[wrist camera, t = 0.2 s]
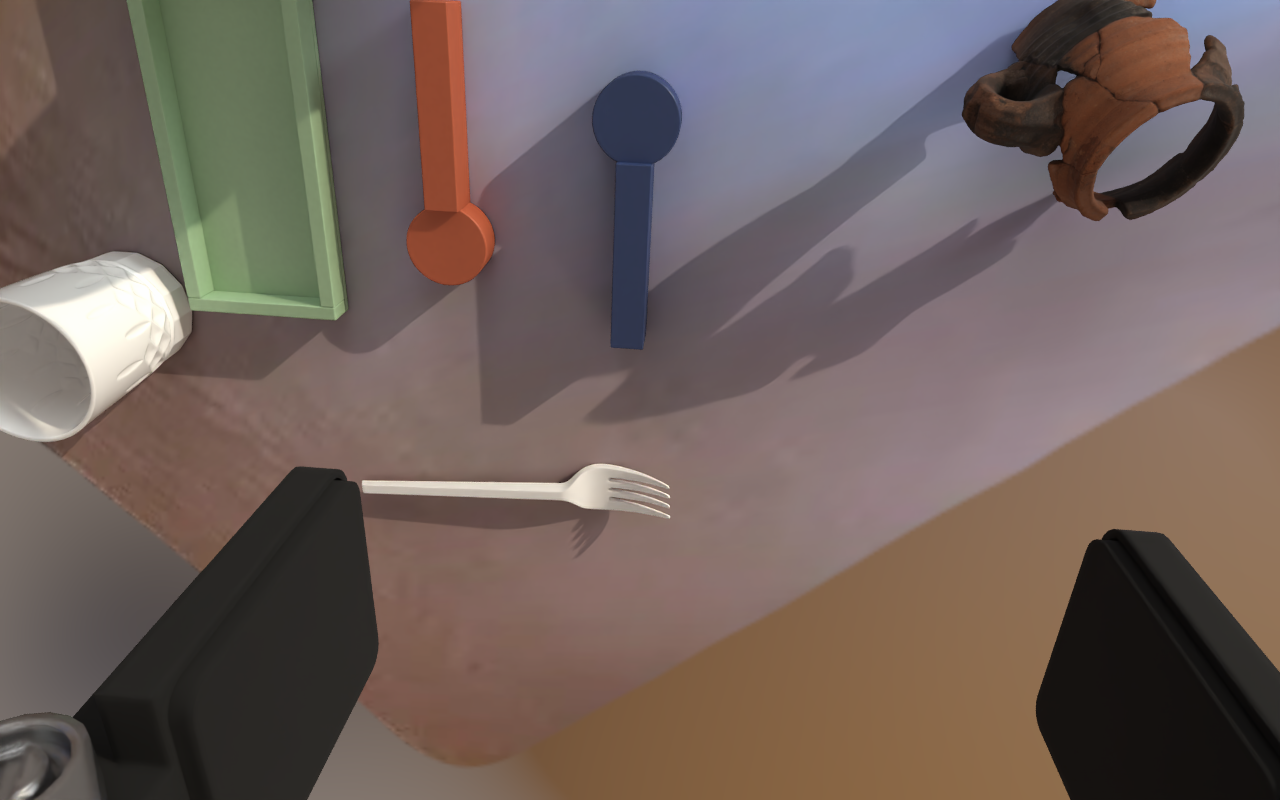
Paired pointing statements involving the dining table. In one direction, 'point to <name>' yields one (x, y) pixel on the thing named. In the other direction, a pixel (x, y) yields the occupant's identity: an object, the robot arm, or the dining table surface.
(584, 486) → the fork
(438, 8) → the terracotta spoon
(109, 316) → the white cup
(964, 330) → the dining table surface
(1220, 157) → the orange headphones
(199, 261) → the tray
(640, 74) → the blue spoon
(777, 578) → the dining table surface
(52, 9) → the dining table surface
